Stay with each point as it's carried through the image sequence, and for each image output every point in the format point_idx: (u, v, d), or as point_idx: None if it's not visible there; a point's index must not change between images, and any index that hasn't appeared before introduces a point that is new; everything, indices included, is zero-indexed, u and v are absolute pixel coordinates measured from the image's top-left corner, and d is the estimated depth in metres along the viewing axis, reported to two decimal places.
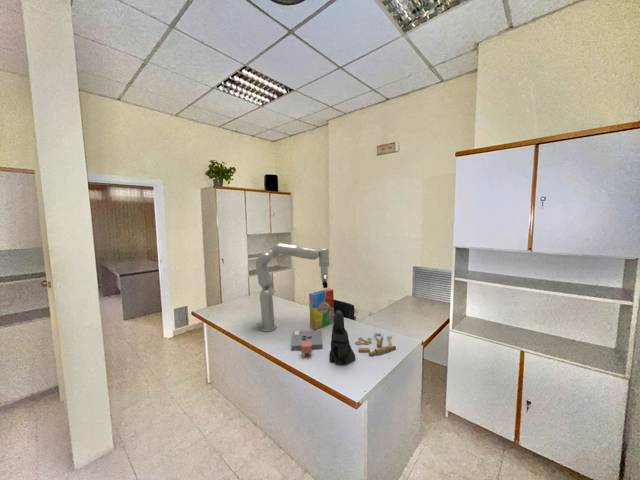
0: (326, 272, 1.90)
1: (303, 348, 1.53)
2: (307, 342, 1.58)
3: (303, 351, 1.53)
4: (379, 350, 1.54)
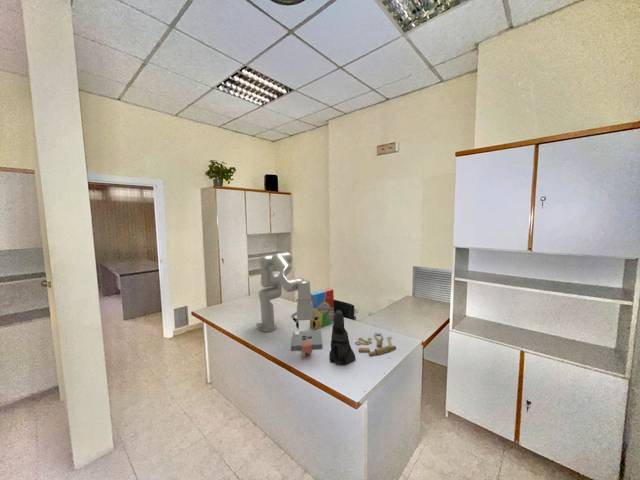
0: None
1: (303, 348, 1.53)
2: (307, 342, 1.58)
3: (303, 351, 1.53)
4: (379, 350, 1.54)
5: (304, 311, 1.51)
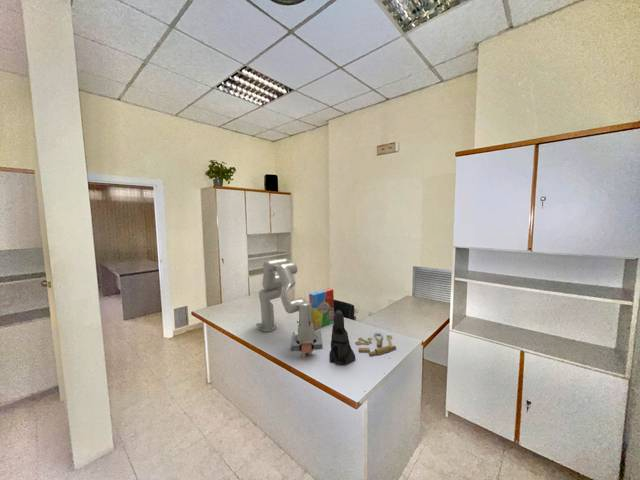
0: None
1: (303, 348, 1.53)
2: (307, 342, 1.58)
3: (303, 351, 1.53)
4: (379, 350, 1.54)
5: (305, 333, 1.53)
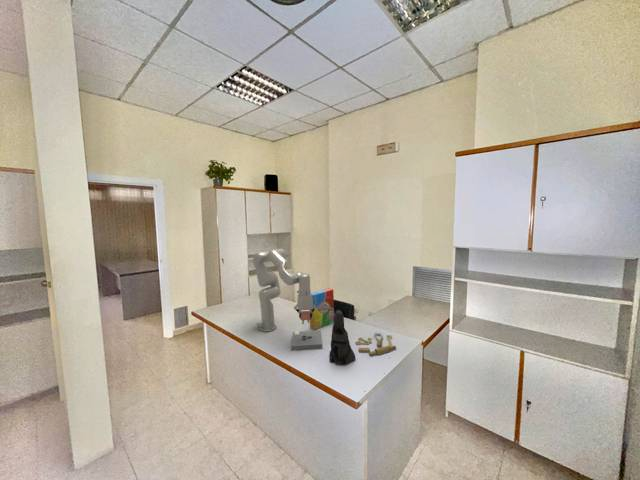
0: None
1: (302, 316, 1.67)
2: (306, 311, 1.72)
3: (302, 319, 1.67)
4: (379, 350, 1.54)
5: (304, 302, 1.66)
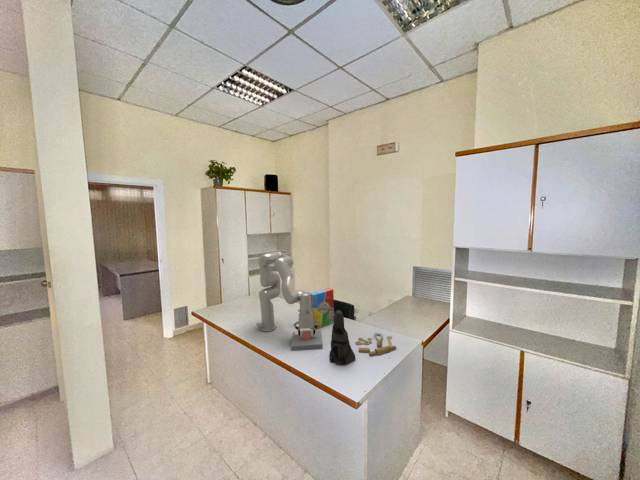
0: None
1: (303, 336, 1.69)
2: (307, 330, 1.74)
3: (303, 338, 1.69)
4: (379, 350, 1.54)
5: (305, 320, 1.68)
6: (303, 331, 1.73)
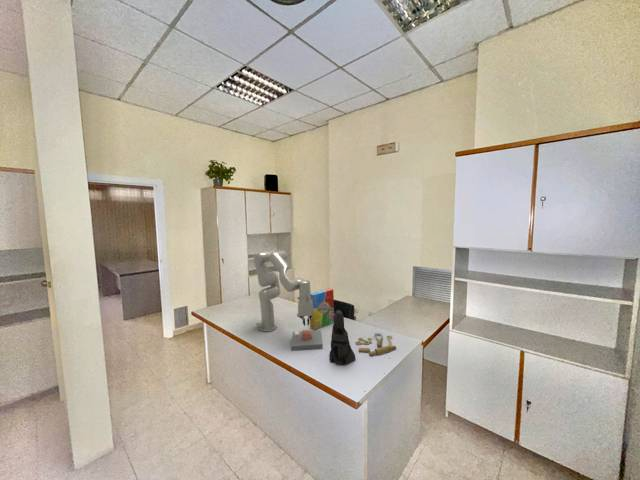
0: None
1: (303, 336, 1.69)
2: (307, 330, 1.74)
3: (303, 338, 1.69)
4: (379, 350, 1.54)
5: (304, 308, 1.68)
6: (303, 331, 1.73)
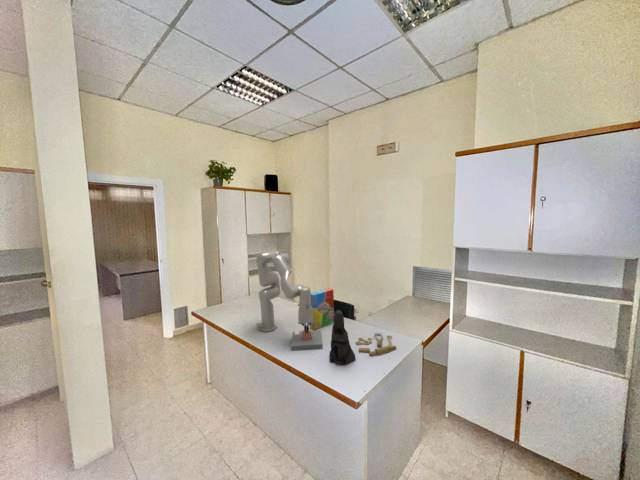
0: None
1: (303, 336, 1.69)
2: None
3: (303, 338, 1.69)
4: (379, 350, 1.54)
5: (305, 315, 1.68)
6: (303, 331, 1.73)
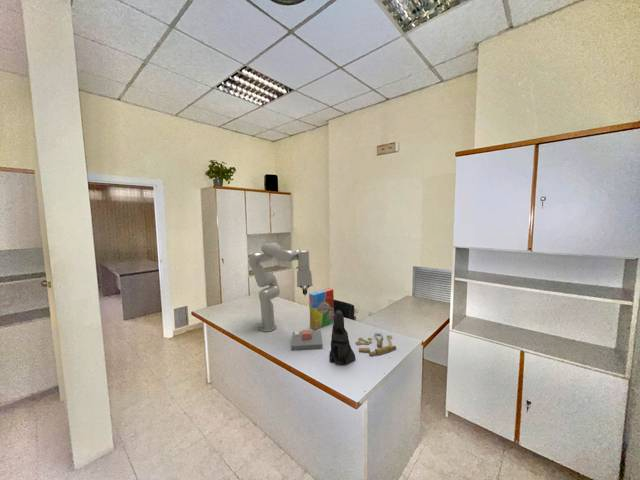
0: None
1: (303, 336, 1.69)
2: (307, 330, 1.74)
3: (303, 338, 1.69)
4: (379, 350, 1.54)
5: (303, 277, 1.69)
6: (303, 331, 1.73)
